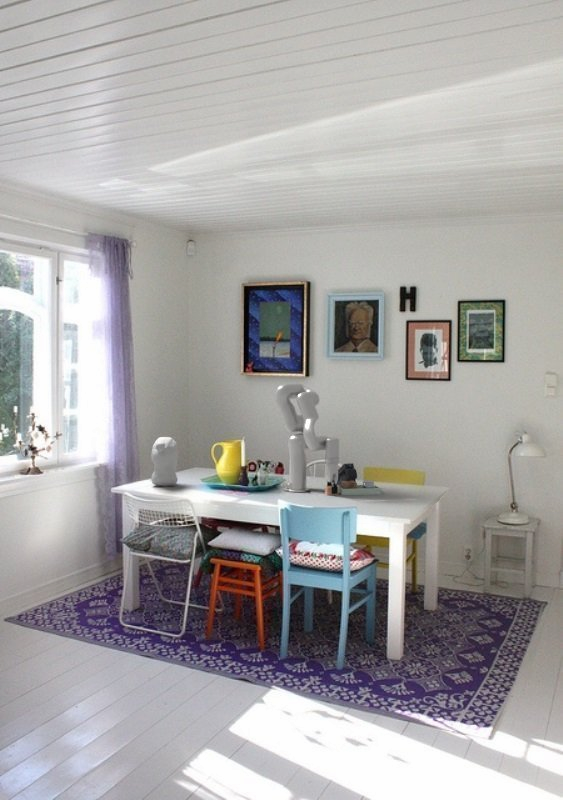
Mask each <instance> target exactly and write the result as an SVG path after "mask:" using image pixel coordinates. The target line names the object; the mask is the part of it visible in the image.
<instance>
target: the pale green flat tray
mask: <svg viewBox="0 0 563 800" xmlns="http://www.w3.org/2000/svg"><path fill="white" fill-rule="evenodd" d="M338 494H340V495H341V496H361V495H363V496H366V495H374V496H375V495H382V487H380V486H378V485H377V484H374V488H363V484H357V489H343V488H341V485H338Z"/></svg>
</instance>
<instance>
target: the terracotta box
mask: <svg viewBox="0 0 563 800" xmlns="http://www.w3.org/2000/svg"><path fill="white" fill-rule="evenodd" d="M324 494H325V495H326V496H338V495H339V493H338V494H332V487H331V486H327V485H325V486H324Z"/></svg>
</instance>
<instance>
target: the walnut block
mask: <svg viewBox="0 0 563 800" xmlns="http://www.w3.org/2000/svg"><path fill="white" fill-rule="evenodd" d="M357 485H358V482H357V481H356V482H355V481H341V488H343V489H357Z"/></svg>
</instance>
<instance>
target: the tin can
mask: <svg viewBox="0 0 563 800" xmlns="http://www.w3.org/2000/svg"><path fill="white" fill-rule="evenodd" d="M362 485H363V488H374V485H375V481H374V480H363V481H362Z"/></svg>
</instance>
